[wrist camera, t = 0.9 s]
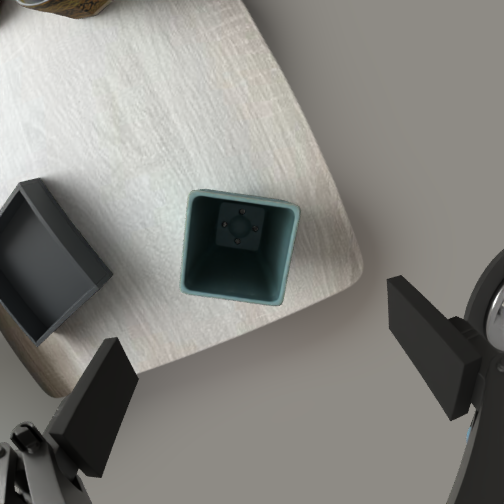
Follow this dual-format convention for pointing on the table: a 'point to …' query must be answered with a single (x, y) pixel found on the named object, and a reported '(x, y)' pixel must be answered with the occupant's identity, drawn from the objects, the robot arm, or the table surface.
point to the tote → (43, 262)
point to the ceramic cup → (67, 7)
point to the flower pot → (237, 247)
